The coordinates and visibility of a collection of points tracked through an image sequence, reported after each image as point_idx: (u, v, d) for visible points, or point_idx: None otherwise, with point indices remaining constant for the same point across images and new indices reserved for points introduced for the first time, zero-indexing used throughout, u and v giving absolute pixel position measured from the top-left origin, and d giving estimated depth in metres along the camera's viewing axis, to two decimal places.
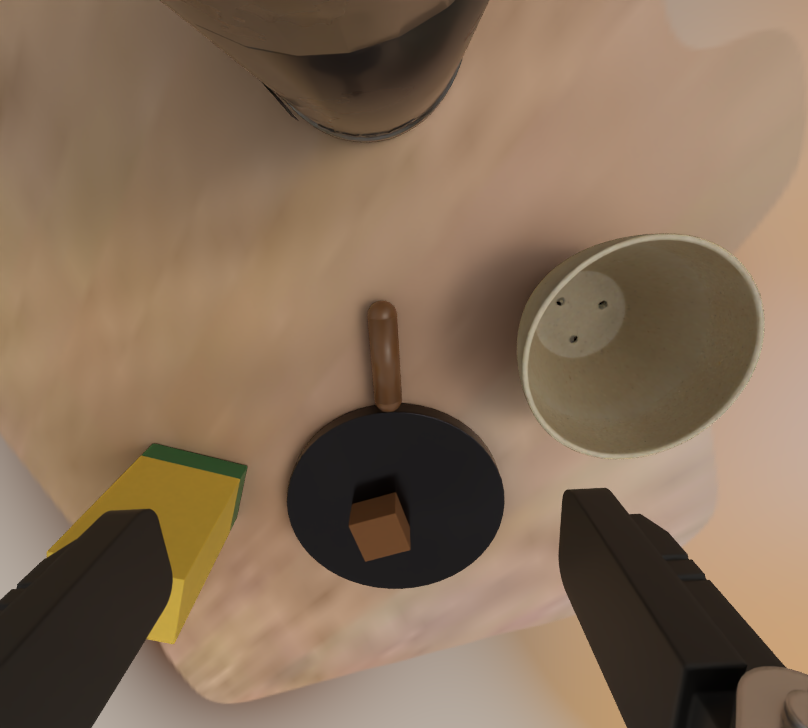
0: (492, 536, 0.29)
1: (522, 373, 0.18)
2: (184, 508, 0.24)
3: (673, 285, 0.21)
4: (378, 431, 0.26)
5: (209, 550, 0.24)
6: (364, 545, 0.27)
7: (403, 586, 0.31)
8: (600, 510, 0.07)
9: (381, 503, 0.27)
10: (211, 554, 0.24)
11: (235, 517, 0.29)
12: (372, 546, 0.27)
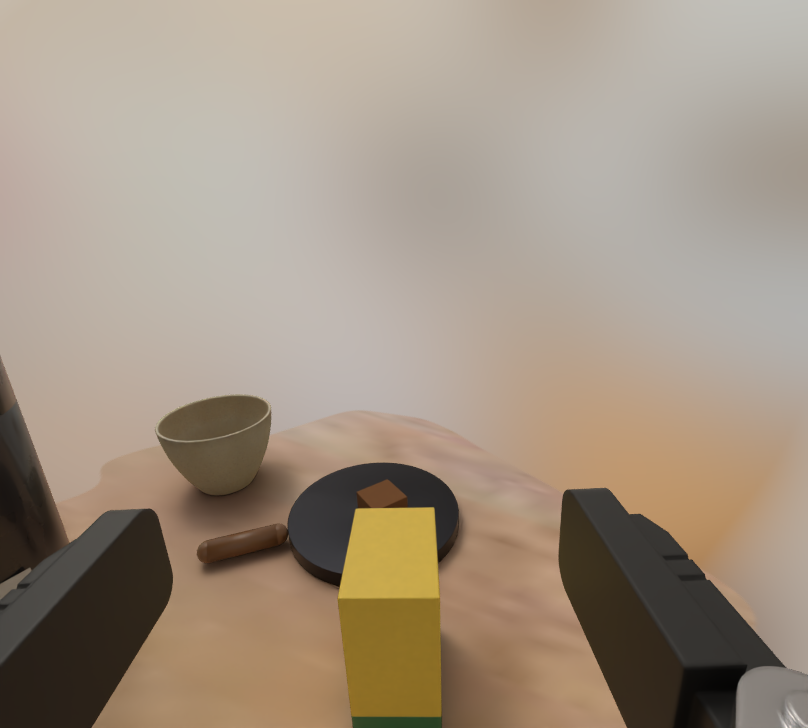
0: (384, 463, 0.43)
1: (216, 439, 0.36)
2: None
3: (202, 440, 0.44)
4: (304, 531, 0.34)
5: None
6: (390, 499, 0.34)
7: (447, 489, 0.38)
8: (600, 510, 0.07)
9: None
10: None
11: None
12: (390, 495, 0.35)
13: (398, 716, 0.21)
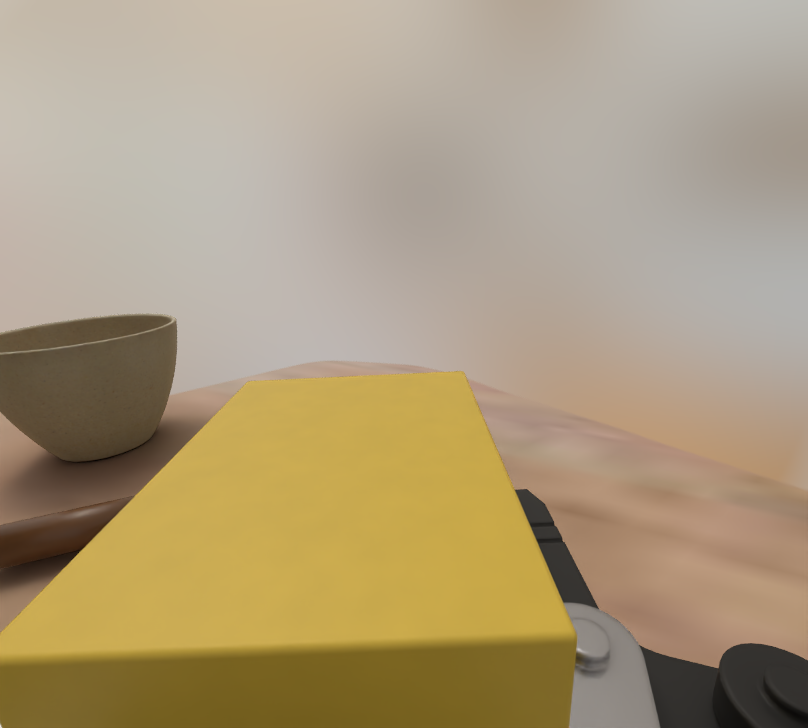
0: None
1: (55, 349, 0.21)
2: None
3: None
4: None
5: None
6: None
7: None
8: None
9: None
10: None
11: None
12: None
13: None
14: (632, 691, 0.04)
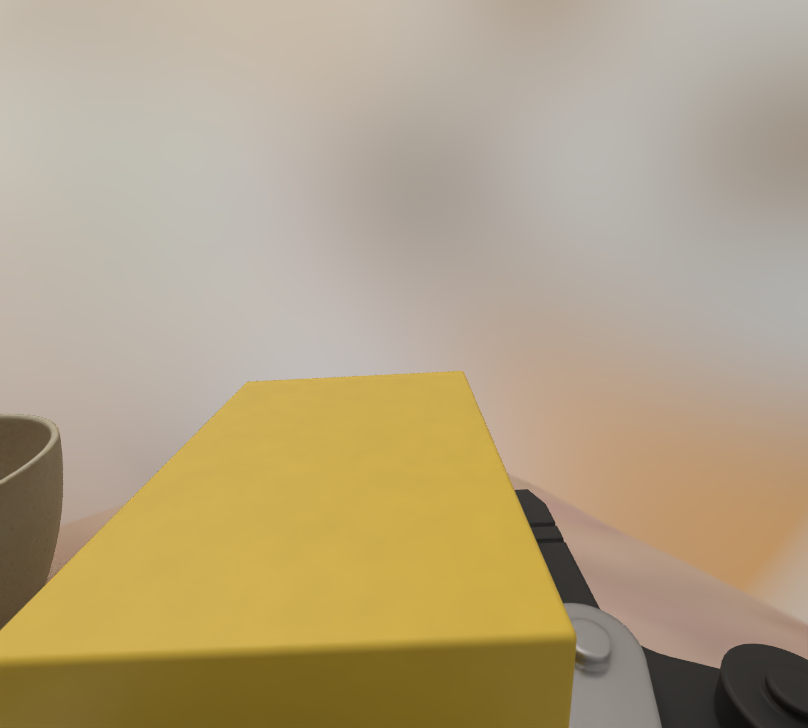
0: None
1: None
2: None
3: None
4: None
5: None
6: None
7: None
8: None
9: None
10: None
11: None
12: None
13: None
14: (633, 692, 0.04)
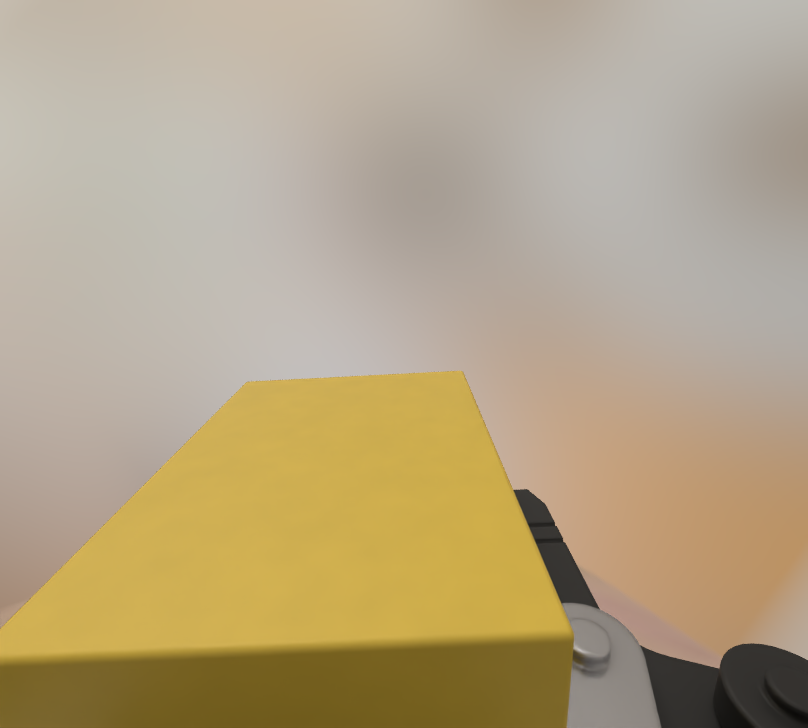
0: None
1: None
2: None
3: None
4: None
5: None
6: None
7: None
8: None
9: None
10: None
11: None
12: None
13: None
14: (632, 691, 0.04)
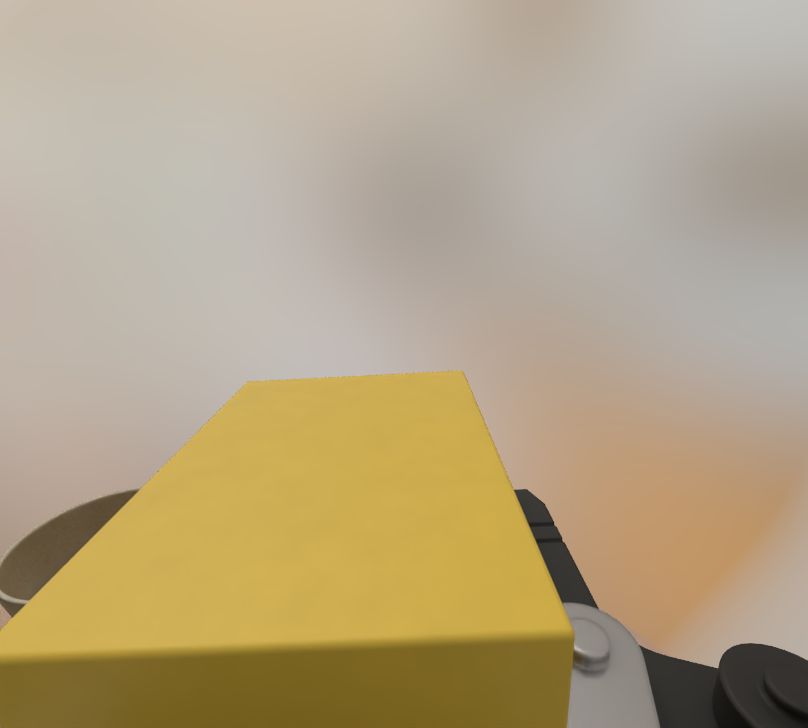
0: None
1: None
2: None
3: None
4: None
5: None
6: None
7: None
8: None
9: None
10: None
11: None
12: None
13: None
14: (631, 691, 0.04)
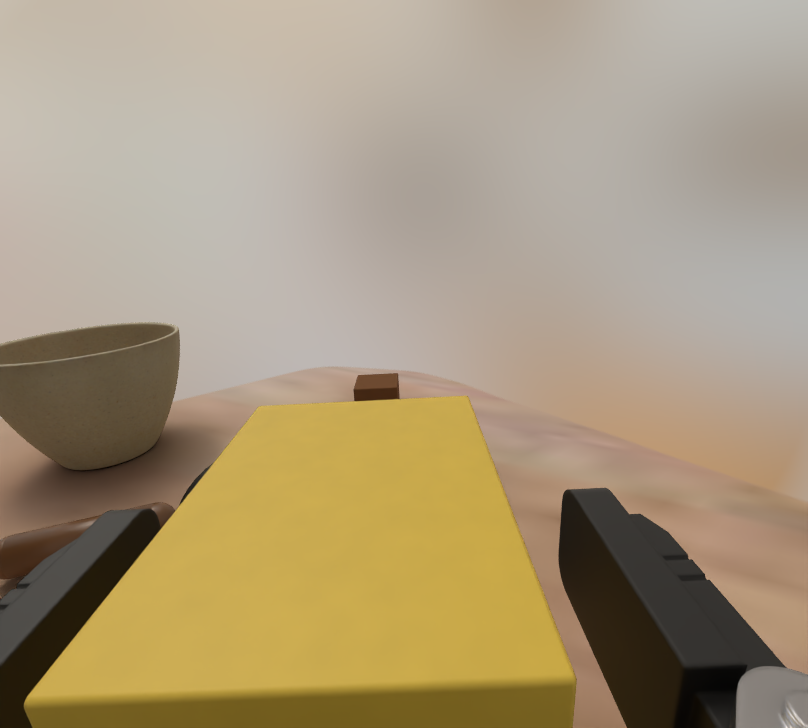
0: None
1: (60, 361, 0.21)
2: None
3: None
4: None
5: None
6: (378, 385, 0.30)
7: None
8: (600, 510, 0.07)
9: None
10: None
11: None
12: (382, 383, 0.31)
13: None
14: None
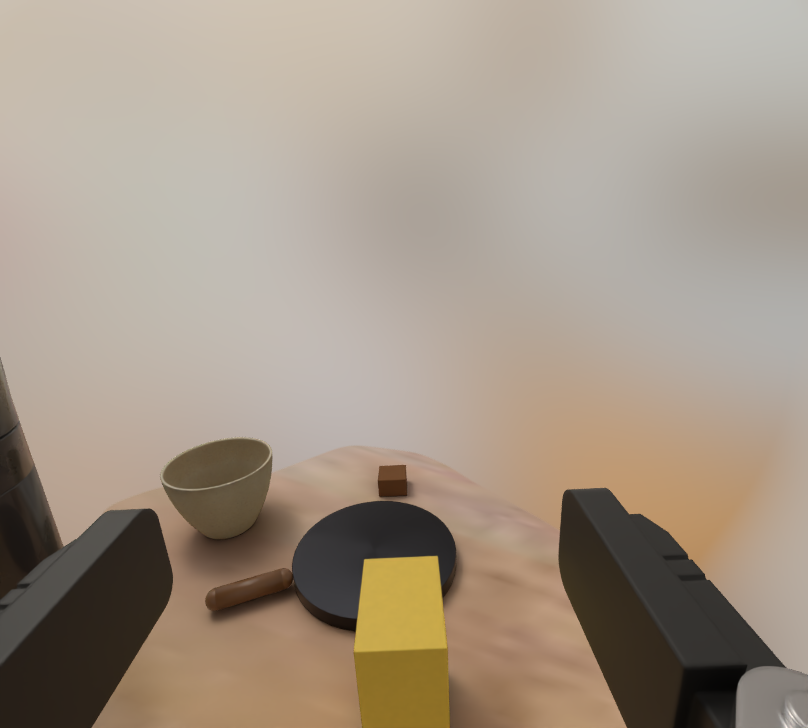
0: (382, 501, 0.44)
1: (221, 486, 0.38)
2: None
3: (204, 483, 0.46)
4: (309, 575, 0.35)
5: None
6: (393, 477, 0.47)
7: (444, 527, 0.40)
8: (600, 510, 0.07)
9: None
10: None
11: None
12: (396, 475, 0.47)
13: None
14: None
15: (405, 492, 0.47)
